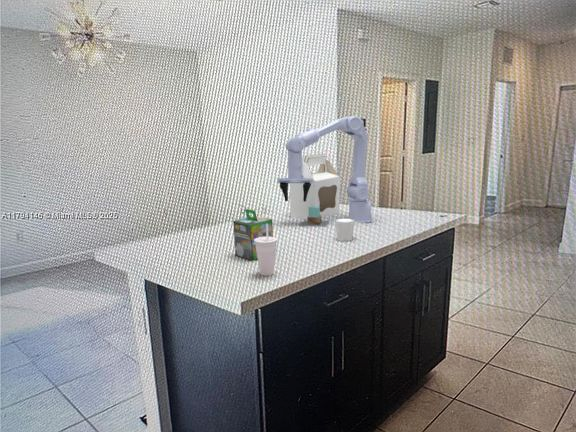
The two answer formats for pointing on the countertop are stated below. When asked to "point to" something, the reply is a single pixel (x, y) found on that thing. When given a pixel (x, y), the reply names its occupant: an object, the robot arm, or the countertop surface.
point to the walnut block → (314, 220)
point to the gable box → (316, 189)
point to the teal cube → (314, 211)
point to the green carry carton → (250, 234)
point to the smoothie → (266, 253)
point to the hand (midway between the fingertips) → (295, 201)
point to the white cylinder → (344, 229)
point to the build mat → (323, 224)
